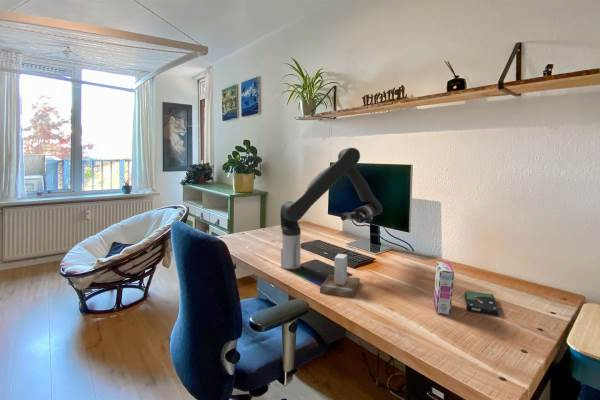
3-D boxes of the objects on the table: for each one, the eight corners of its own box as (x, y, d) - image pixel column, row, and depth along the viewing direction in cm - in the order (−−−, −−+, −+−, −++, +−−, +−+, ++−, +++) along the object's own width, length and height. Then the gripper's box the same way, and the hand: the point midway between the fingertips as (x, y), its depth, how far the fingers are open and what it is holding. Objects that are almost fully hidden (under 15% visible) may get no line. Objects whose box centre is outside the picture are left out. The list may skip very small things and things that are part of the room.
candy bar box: (451, 316, 116) (454, 272, 114) (436, 314, 118) (439, 270, 115) (446, 302, 127) (449, 262, 124) (433, 300, 128) (435, 260, 126)
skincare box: (337, 279, 145) (338, 253, 143) (347, 280, 143) (347, 254, 141) (333, 284, 139) (334, 257, 137) (343, 285, 137) (344, 258, 136)
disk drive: (499, 318, 116) (492, 300, 130) (499, 311, 116) (493, 293, 129) (466, 312, 120) (463, 296, 134) (467, 305, 120) (464, 289, 133)
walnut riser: (319, 292, 136) (320, 285, 135) (329, 278, 151) (329, 272, 150) (353, 297, 131) (353, 290, 131) (359, 282, 146) (359, 276, 146)
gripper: (349, 205, 165) (337, 209, 151) (377, 208, 158) (366, 213, 144) (348, 219, 166) (336, 225, 152) (376, 223, 160) (366, 229, 145)
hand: (351, 219), depth 148 cm, fingers open, 8 cm apart
